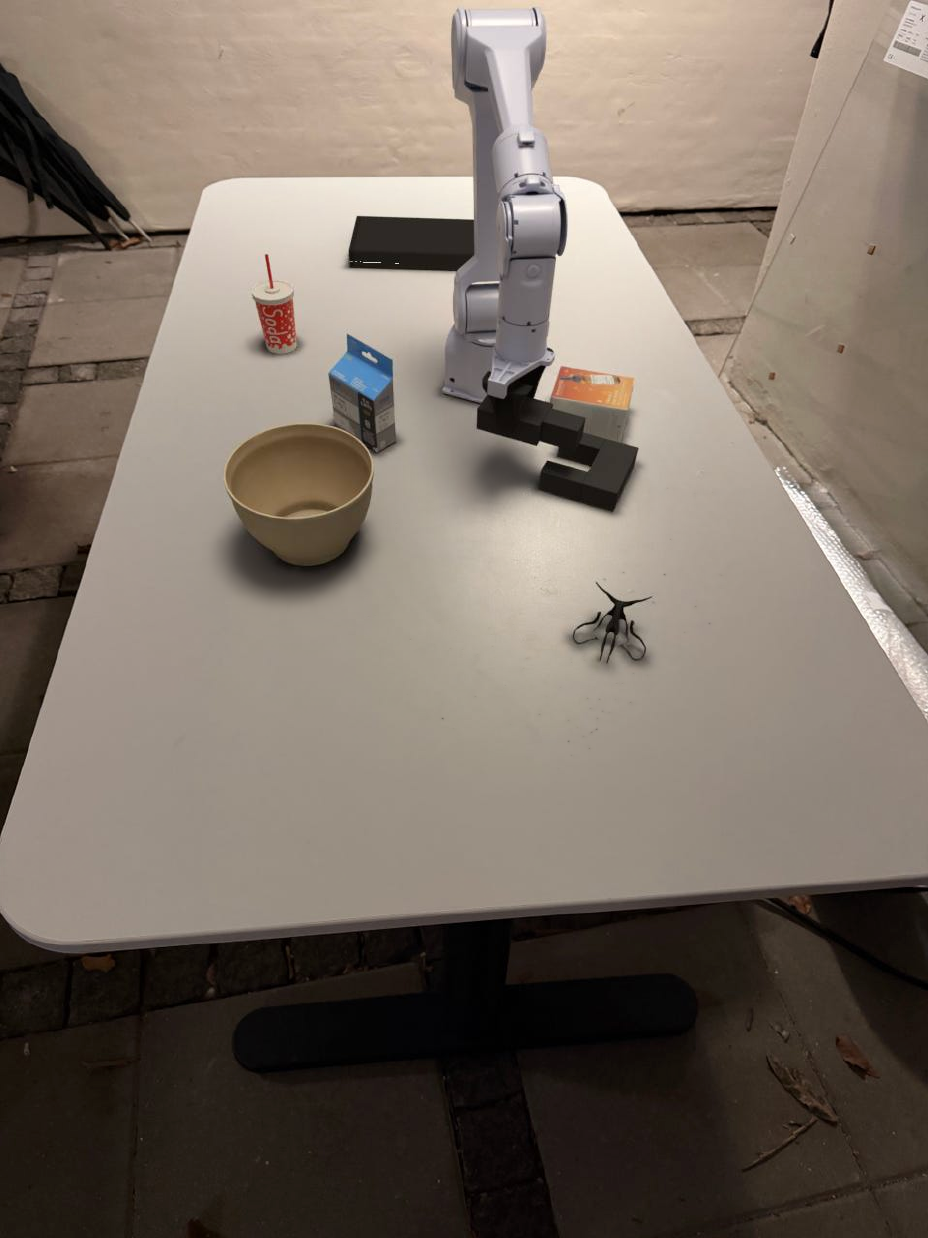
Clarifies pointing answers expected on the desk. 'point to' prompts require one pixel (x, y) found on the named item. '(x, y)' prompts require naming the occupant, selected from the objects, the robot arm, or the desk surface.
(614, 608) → the creature
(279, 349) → the beverage cup
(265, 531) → the planter bowl
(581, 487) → the notch pad
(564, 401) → the small box
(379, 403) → the ink cartridge box
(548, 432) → the pad
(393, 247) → the black electronic device box
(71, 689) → the desk surface
